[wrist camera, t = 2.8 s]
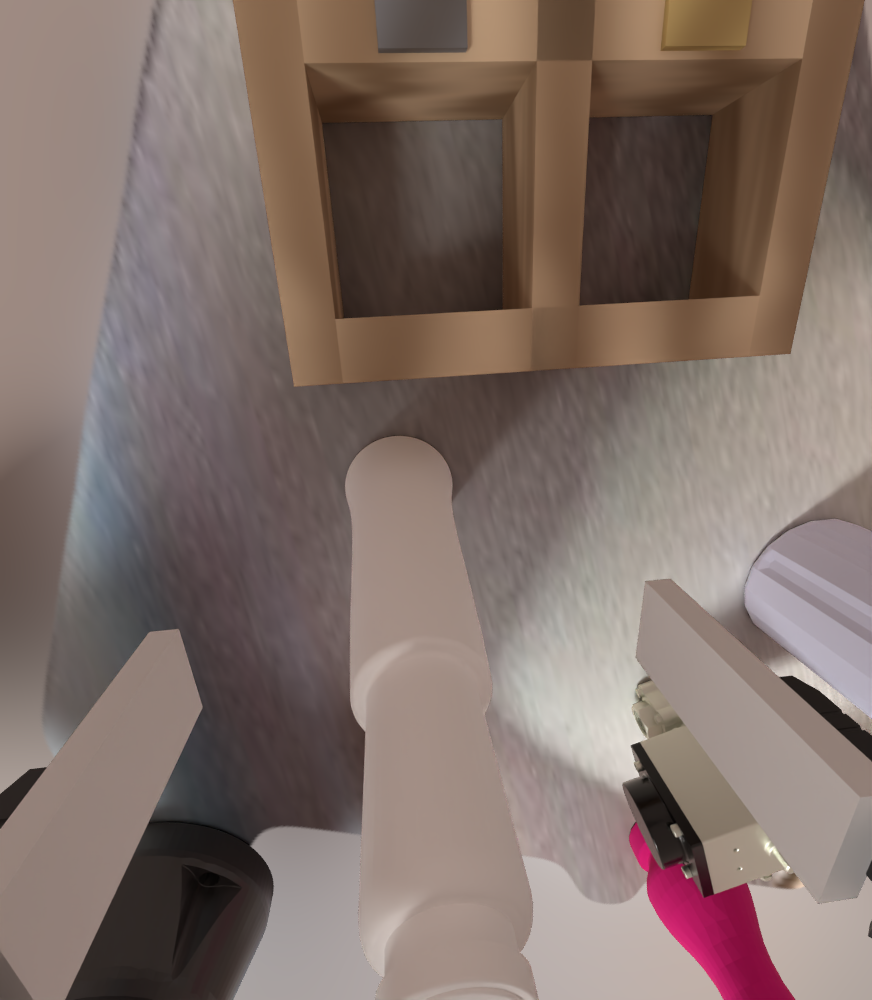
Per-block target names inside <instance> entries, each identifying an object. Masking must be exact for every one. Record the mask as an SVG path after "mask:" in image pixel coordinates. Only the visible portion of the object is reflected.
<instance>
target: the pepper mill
mask: <svg viewBox="0 0 872 1000" xmlns="http://www.w3.org/2000/svg"><path fill="white" fill-rule="evenodd" d="M629 841H630V845H631V847H632V850H633V852H634V854H635V856H636V858H637V860H638V862H639V864H640V866H641V867H642V868H643V869H644V870H645V871H647V872H648V876H647V893H648V897H649V900H650V902H651V904H652V905H653V907H654V909H655V911H656V913H657V915H658V916H659V918H660V919H661V921H662V922H663V924H664V925H665V926H666V928H667V929H668V930H669V932H670V933H671V934H672V935H673V936H674V937H675V939H676V940H677V941H678V942H679V943H680V944H681V945H682V946H683V947H684V948H685V949H686V950H687V951H688V952H689V953H690V954H691V955H692V956H693V957H694V958H695V959H696V961H697V962H698V963H699V964H700V965H701V966H702V967H703V969H704V970H705V971H706V973H707V974H708V975H709V977H710V978H711V980H712V981H713V982H714V984H715V985H716V987H717V988H718V990H719V992H720V994H721V996H722V998H723V999H724V1000H795V998H794V997H793V996H792V994H791V993H790V991H789V990H788V988H787V987H786V986H785V984H784V983H783V981H782V979H781V977H780V975H779V974H778V972H777V970H776V968H775V966H774V965H773V963H772V961H771V959H770V956H769V954H768V952H767V949H766V947H765V945H764V942H763V938H762V935H761V931H760V928H759V924H758V919H757V915H756V911H755V907H754V903H753V900H752V896H751V893H750V890H749V888H748V885H747V883H744V884H742V885H739V886H736V887H733V888H730V889H728V890H725V891H722V892H719V893H716V894H714V895H711V896H708V897H705V898H703V896H702V894H701V892H700V891H699V889H698V887H697V885H696V884H695V882H694V880H693V878H692V877H691V878H688V879H687V878H686V877H685V875H684V874H683V871H682V869H681V867H682V866H684V865H683V864H679V865H676V866H673V867H670V868H668V869H665V870H663V869H661V868H660V866H659V865H658V864H657V862H656V860H655V859H654V857H653V855H652V853H651V851H650V849H649V847H648V846H647V844H646V842H645V840H644V838H643V835H642V833H641V831H640V829H639V827H638V825H637V823H635V825H634V826H633V828H632V829H631V832H630V836H629Z"/></svg>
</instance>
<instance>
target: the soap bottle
mask: <svg viewBox="0 0 872 1000" xmlns="http://www.w3.org/2000/svg"><path fill="white" fill-rule="evenodd" d="M745 607H746V609H747V611H748V613H749V615H750V617H751V620H752V622H753V623H754V624H755V625H756V626H757V627H758V628H760V629H761V630H762V631H763V632H765V633H766V634H767V635H768V636H770V637H771V638H772V639H773V640H775V641H776V642H777V643H778V644H780V645H781V646H782V647H783V648H785V649H786V650H787V651H788V652H789V653H791V654H792V655H793V656H794V657H796V658H797V659H798V660H799V661H801V662H802V663H803V664H804V665H806V666H807V667H808V668H809V669H811V670H812V671H813V672H814V673H816V674H817V675H818V676H819V677H820V678H822V679H823V680H824V681H825V682H827V683H828V684H829V685H830V686H832V687H833V688H834V689H835V690H837V691H838V692H839V693H840V694H842V695H843V696H844V697H845V698H847V699H848V700H849V701H850V702H851V703H853V704H854V705H855V706H856V707H858V708H859V709H860V710H861V711H863V712H864V713H865V714H866V715H868V716H869V717H870V718H871V719H872V531H870V530H868V529H866V528H863V527H861V526H859V525H856V524H853V523H849V522H846V521H842V520H839V519H826V520H817V521H809V522H807V523H805V524H802V525H800V526H798V527H795V528H793V529H791V530H788V531H787V532H785V533H784V534H783V535H781V536H780V537H779V538H778V539H776V540H775V541H774V542H773V543H771V544H770V545H769V546H767V548H766V549H765V550H764V551H763V553H762V554H761V555H760V557H759V558H758V559H757V561H756V562H755V563H754V565H753V566H752V568H751V571H750V574H749V576H748V579H747V582H746V584H745Z"/></svg>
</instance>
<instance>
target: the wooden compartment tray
mask: <svg viewBox="0 0 872 1000" xmlns="http://www.w3.org/2000/svg"><path fill="white" fill-rule="evenodd" d="M864 1H865V0H233V4H234V11H235V17H236V23H237V29H238V36H239V42H240V48H241V55H242V61H243V67H244V74H245V80H246V86H247V93H248V99H249V105H250V112H251V118H252V124H253V130H254V137H255V143H256V149H257V156H258V162H259V168H260V175H261V181H262V187H263V194H264V200H265V206H266V213H267V219H268V225H269V232H270V238H271V244H272V250H273V257H274V263H275V269H276V276H277V282H278V288H279V295H280V301H281V307H282V314H283V320H284V326H285V333H286V339H287V345H288V352H289V358H290V364H291V370H292V377H293V383H294V387H297V386H312V385H327V384H342V383H358V382H373V381H388V380H403V379H418V378H433V377H448V376H463V375H478V374H493V373H508V372H523V371H538V370H553V369H568V368H583V367H598V366H613V365H628V364H643V363H658V362H673V361H688V360H703V359H718V358H733V357H748V356H763V355H778V354H790V353H791V348H792V344H793V339H794V334H795V329H796V324H797V320H798V315H799V310H800V305H801V301H802V296H803V291H804V286H805V282H806V277H807V272H808V267H809V263H810V258H811V253H812V248H813V244H814V239H815V234H816V229H817V225H818V220H819V215H820V210H821V205H822V201H823V196H824V191H825V186H826V182H827V177H828V172H829V167H830V163H831V158H832V153H833V148H834V144H835V139H836V134H837V129H838V125H839V120H840V115H841V110H842V106H843V101H844V96H845V91H846V86H847V82H848V77H849V72H850V67H851V63H852V58H853V53H854V48H855V44H856V39H857V34H858V29H859V25H860V20H861V15H862V10H863V6H864ZM683 115H713V116H712V124H711V131H710V139H709V147H708V154H707V162H706V170H705V177H704V185H703V193H702V200H701V208H700V216H699V223H698V231H697V239H696V247H695V254H694V262H693V270H692V277H691V285H690V293H689V300H672V301H654V302H636V303H617V304H599V305H581V306H579V300H580V282H581V263H582V244H583V225H584V206H585V187H586V168H587V150H588V131H589V117H634V116H683ZM488 119H502V166H503V310H490V311H472V312H454V313H436V314H418V315H400V316H381V317H363V318H345V319H344V311H343V303H342V294H341V285H340V277H339V268H338V259H337V250H336V242H335V233H334V224H333V216H332V207H331V198H330V189H329V181H328V172H327V163H326V154H325V146H324V137H323V128H322V123H341V122H390V121H439V120H488Z"/></svg>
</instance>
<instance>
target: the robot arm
mask: <svg viewBox="0 0 872 1000" xmlns="http://www.w3.org/2000/svg"><path fill="white" fill-rule="evenodd" d="M636 659H637V660H638V662H639V663H640V664H641V666H642V667H643V669H644V670H645V671H646V673H647V674H648V675H649V677H650V678H651V679H652V681H653V682H654V683H655V685H656V686H657V687H658V689H659V690H660V691H661V693H662V694H663V696H664V697H665V698H666V700H667V701H668V702H669V704H670V705H671V706H672V708H673V709H674V710H675V712H676V713H677V714H678V716H679V717H680V718H681V720H682V721H683V723H684V724H685V725H686V727H687V728H688V729H689V731H690V732H691V733H692V735H693V736H694V737H695V739H696V740H697V741H698V743H699V744H700V745H701V747H702V748H703V750H704V751H705V752H706V754H707V755H708V756H709V758H710V759H711V760H712V762H713V763H714V764H715V766H716V767H717V768H718V770H719V771H720V772H721V774H722V775H723V777H724V778H725V779H726V781H727V782H728V783H729V785H730V786H731V787H732V789H733V790H734V791H735V793H736V794H737V795H738V797H739V798H740V799H741V801H742V802H743V804H744V805H745V806H746V808H747V809H748V810H749V812H750V813H751V814H752V816H753V817H754V818H755V820H756V821H757V822H758V824H759V825H760V826H761V828H762V829H763V831H764V832H765V833H766V835H767V836H768V837H769V839H770V840H771V841H772V843H773V844H774V845H775V847H776V848H777V849H778V851H779V852H780V854H781V855H782V856H783V858H784V859H785V860H786V862H787V863H788V864H789V866H790V867H791V868H792V870H793V871H794V872H795V874H796V875H797V876H798V878H799V879H800V881H801V882H802V883H803V885H804V886H805V887H806V888H807V890H808V891H809V893H810V894H811V895H812V897H813V898H814V899H815V901H816V902H817V903H818V904H822V903H828V902H834V901H840V900H846V899H853V898H857V897H858V895H859V892H860V890H861V888H862V886H863V884H864V881H865V879H866V877H867V876H868V877H869V879H870V880H871V881H872V736H871V735H870V734H869V733H868V732H867V731H865V730H862V729H861V728H860V725H858V724H857V723H856V722H855V721H854V720H853V719H851V718H850V717H849V716H848V715H847V714H843V713H842V710H841V709H840V708H839V707H837V706H836V705H835V704H834V703H833V702H832V701H830V700H829V699H828V698H827V697H826V696H825V695H823V694H822V693H821V692H820V691H818V690H817V689H815V688H813V687H811V686H809V685H808V684H806V683H804V682H802V681H801V680H799V679H797V678H795V677H793V676H785V677H778V676H777V675H776V674H775V673H774V672H773V671H772V670H770V669H769V668H768V667H767V666H766V665H765V664H764V663H763V662H762V661H760V660H759V659H758V658H757V657H756V656H755V655H754V654H753V653H752V652H751V651H749V650H748V649H747V648H746V647H745V646H744V645H743V644H742V643H741V642H740V641H738V640H737V639H736V638H735V637H734V636H733V635H732V634H731V633H730V632H729V631H727V630H726V629H725V628H724V627H723V626H722V625H721V624H720V623H719V622H718V621H716V620H715V619H714V618H713V617H712V616H711V615H710V614H709V613H708V612H707V611H705V610H704V609H703V608H702V607H701V606H700V605H699V604H698V603H697V602H696V601H694V600H693V599H692V598H691V597H690V596H689V595H688V594H687V593H686V592H684V591H683V590H682V589H681V588H680V587H679V586H678V585H677V584H676V583H675V582H673V581H672V580H671V579H663V580H653V581H645V588H644V595H643V603H642V611H641V619H640V627H639V634H638V642H637V650H636ZM202 708H203V706H202V703H201V700H200V697H199V693H198V690H197V687H196V683H195V680H194V677H193V674H192V670H191V667H190V664H189V660H188V657H187V654H186V651H185V647H184V644H183V641H182V637H181V634H180V631H179V629H173V630H163V631H153V632H149V633H148V634H147V636H146V637H145V638H144V640H143V641H142V642H141V644H140V645H139V646H138V648H137V649H136V650H135V652H134V653H133V654H132V656H131V657H130V658H129V660H128V661H127V662H126V664H125V665H124V666H123V668H122V669H121V670H120V671H119V673H118V674H117V675H116V677H115V678H114V679H113V681H112V682H111V683H110V685H109V686H108V687H107V689H106V690H105V691H104V693H103V694H102V695H101V697H100V698H99V699H98V701H97V702H96V703H95V705H94V706H93V707H92V709H91V710H90V711H89V713H88V714H87V715H86V716H85V718H84V719H83V720H82V722H81V723H80V724H79V726H78V727H77V728H76V730H75V731H74V732H73V734H72V735H71V736H70V738H69V739H68V740H67V742H66V743H65V744H64V746H63V747H62V748H61V750H60V751H59V752H58V754H57V755H56V756H55V758H54V759H53V760H52V761H51V763H50V764H49V765H48V767H45V768H37V769H30V770H28V771H27V772H26V773H25V774H24V775H22V776H21V777H20V778H19V779H18V780H17V781H15V782H14V783H13V784H12V785H11V786H10V787H8V788H7V789H6V790H4V791H3V792H2V793H1V794H0V1000H233V999H234V997H235V995H236V993H237V991H238V988H239V986H240V984H241V982H242V980H243V978H244V976H245V973H246V971H247V969H248V967H249V965H250V963H251V960H252V958H253V956H254V954H255V952H256V950H257V948H258V946H259V943H260V941H261V939H262V937H263V934H264V932H265V929H266V926H267V922H268V917H269V912H270V906H271V901H272V896H273V878H272V874H271V872H270V870H269V867H268V865H267V864H266V862H265V861H264V860H263V858H262V857H261V856H260V855H259V854H258V853H257V852H256V851H255V850H254V849H253V848H251V847H250V846H249V845H247V844H246V843H245V842H243V841H241V840H239V839H238V838H236V837H234V836H232V835H229V834H227V833H225V832H222V831H219V830H216V829H213V828H209V827H205V826H200V825H195V824H187V823H172V822H164V823H149V820H150V818H151V816H152V814H153V812H154V810H155V808H156V806H157V803H158V801H159V799H160V797H161V795H162V793H163V791H164V789H165V786H166V784H167V782H168V780H169V778H170V776H171V774H172V772H173V769H174V767H175V765H176V763H177V761H178V759H179V757H180V755H181V752H182V750H183V748H184V746H185V744H186V742H187V740H188V738H189V735H190V733H191V731H192V729H193V727H194V725H195V723H196V721H197V718H198V716H199V714H200V712H201V710H202ZM148 823H149V824H148ZM868 936H869V937H871V938H872V921H871V923H870V927H869V934H868Z"/></svg>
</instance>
